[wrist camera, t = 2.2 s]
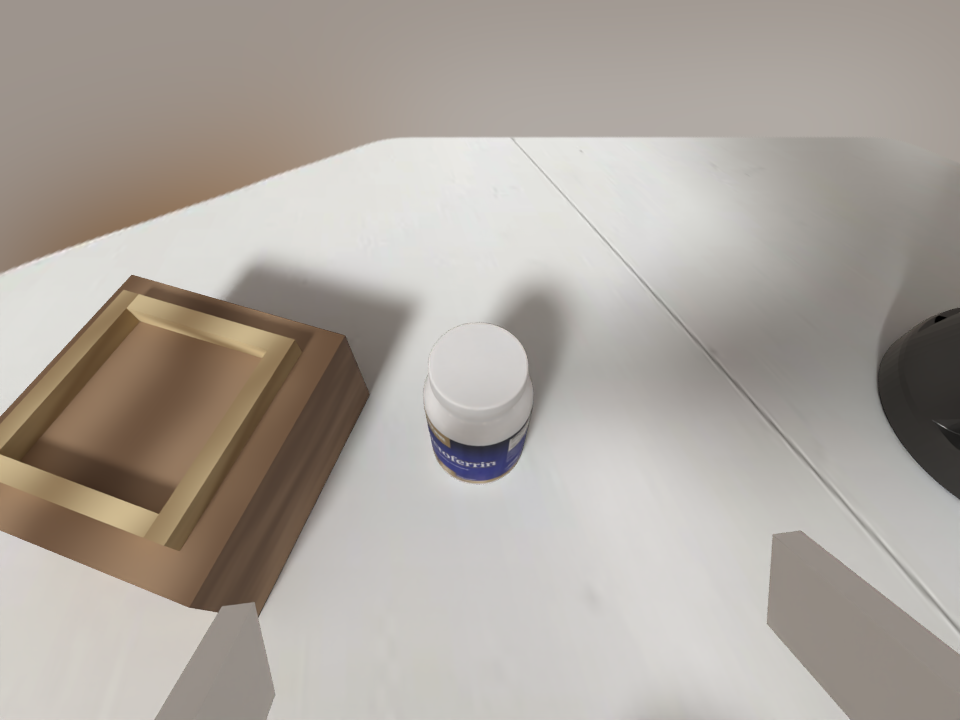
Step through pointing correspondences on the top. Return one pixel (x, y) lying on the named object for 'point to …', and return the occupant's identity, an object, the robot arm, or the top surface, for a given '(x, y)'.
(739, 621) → the top surface
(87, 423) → the tray
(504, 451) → the pill bottle
